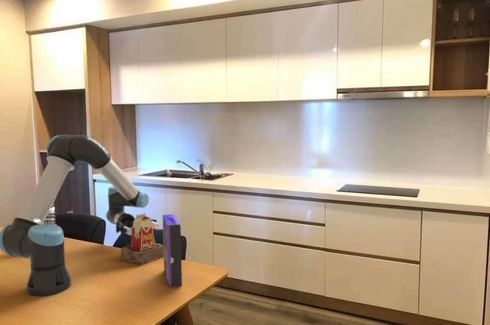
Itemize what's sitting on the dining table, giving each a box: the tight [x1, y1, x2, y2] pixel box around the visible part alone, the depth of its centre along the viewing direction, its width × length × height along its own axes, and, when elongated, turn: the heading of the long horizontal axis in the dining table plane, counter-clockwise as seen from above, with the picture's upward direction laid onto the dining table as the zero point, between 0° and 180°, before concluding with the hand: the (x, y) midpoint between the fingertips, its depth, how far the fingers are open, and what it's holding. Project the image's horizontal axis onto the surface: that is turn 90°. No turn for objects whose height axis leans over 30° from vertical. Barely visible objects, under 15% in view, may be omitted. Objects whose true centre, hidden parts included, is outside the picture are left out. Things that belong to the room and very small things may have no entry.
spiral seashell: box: [43, 201, 57, 225], centre depth 197 cm, size 9×9×25 cm
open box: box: [120, 242, 164, 265], centre depth 184 cm, size 14×14×5 cm
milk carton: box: [130, 212, 156, 253], centre depth 184 cm, size 9×9×20 cm
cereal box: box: [162, 213, 183, 288], centre depth 160 cm, size 17×5×24 cm, turn 18°
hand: (144, 229), depth 181 cm, fingers open, 13 cm apart
